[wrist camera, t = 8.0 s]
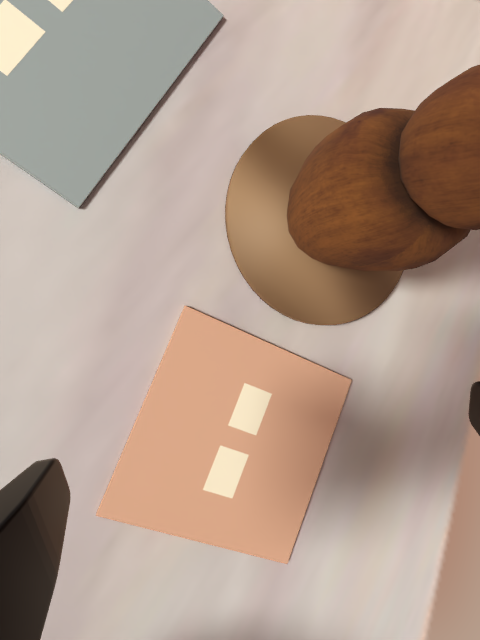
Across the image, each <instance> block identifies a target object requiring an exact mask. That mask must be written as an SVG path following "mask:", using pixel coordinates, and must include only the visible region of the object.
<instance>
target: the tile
mask: <svg viewBox="0 0 480 640" xmlns="http://www.w3.org/2000/svg"><path fill="white" fill-rule="evenodd" d="M351 381H352V380H350V379H348V378H346V377H344V376H341V375H339V374H337V373H335V372H333V371H330V370H328V369H326V368H324V367H321V366H319V365H317V364H315V363H312V362H310V361H308V360H306V359H303V358H301V357H299V356H297V355H295V354H292V353H290V352H288V351H286V350H283V349H281V348H279V347H277V346H274V345H272V344H270V343H268V342H265V341H263V340H261V339H259V338H257V337H254V336H252V335H250V334H248V333H245V332H243V331H241V330H239V329H236V328H234V327H232V326H230V325H228V324H225V323H223V322H221V321H219V320H216V319H214V318H212V317H210V316H207V315H205V314H203V313H201V312H198V311H196V310H194V309H192V308H190V307H187V306H184V309H183V311H182V313H181V316H180V318H179V320H178V323H177V325H176V327H175V330H174V332H173V334H172V337H171V339H170V342H169V344H168V346H167V349H166V351H165V353H164V356H163V358H162V360H161V363H160V365H159V367H158V370H157V372H156V374H155V377H154V379H153V381H152V384H151V386H150V389H149V391H148V393H147V396H146V398H145V400H144V403H143V405H142V407H141V410H140V412H139V414H138V417H137V419H136V421H135V424H134V426H133V429H132V431H131V433H130V436H129V438H128V440H127V443H126V445H125V447H124V450H123V452H122V454H121V457H120V459H119V461H118V464H117V466H116V468H115V471H114V473H113V476H112V478H111V480H110V483H109V485H108V487H107V490H106V492H105V494H104V497H103V499H102V501H101V504H100V506H99V508H98V511H97V513H96V516H99V517H103V518H107V519H111V520H115V521H119V522H123V523H127V524H131V525H135V526H139V527H143V528H147V529H151V530H155V531H159V532H163V533H166V534H170V535H174V536H178V537H182V538H186V539H190V540H194V541H198V542H202V543H206V544H210V545H214V546H218V547H222V548H226V549H230V550H234V551H238V552H241V553H245V554H249V555H253V556H257V557H261V558H265V559H269V560H273V561H277V562H281V563H285V564H287V563H288V560H289V557H290V555H291V552H292V549H293V546H294V543H295V540H296V537H297V535H298V532H299V529H300V526H301V523H302V520H303V518H304V515H305V512H306V509H307V506H308V503H309V500H310V498H311V495H312V492H313V489H314V486H315V483H316V481H317V478H318V475H319V472H320V469H321V466H322V463H323V461H324V458H325V455H326V452H327V449H328V446H329V444H330V441H331V438H332V435H333V432H334V429H335V426H336V424H337V421H338V418H339V415H340V412H341V409H342V407H343V404H344V401H345V398H346V395H347V392H348V389H349V387H350V384H351Z"/></svg>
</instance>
